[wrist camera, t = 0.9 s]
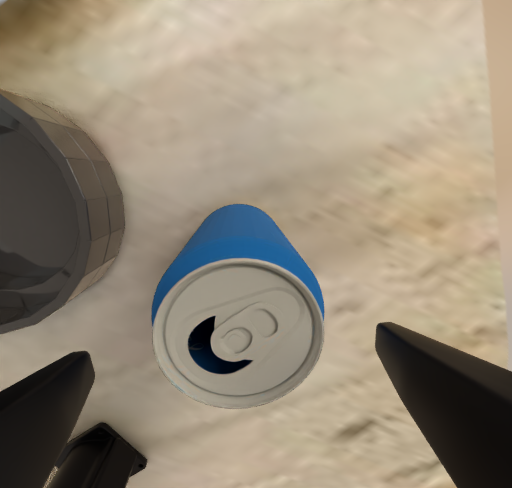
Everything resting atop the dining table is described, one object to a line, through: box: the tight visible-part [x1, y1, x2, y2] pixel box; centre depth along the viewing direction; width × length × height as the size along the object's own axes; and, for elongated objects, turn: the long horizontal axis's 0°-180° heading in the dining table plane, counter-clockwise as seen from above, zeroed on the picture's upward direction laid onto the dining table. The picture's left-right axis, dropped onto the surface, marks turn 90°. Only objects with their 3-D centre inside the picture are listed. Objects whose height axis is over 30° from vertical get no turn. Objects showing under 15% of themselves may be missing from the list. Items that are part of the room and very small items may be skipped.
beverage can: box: [152, 204, 324, 409], centre depth 14 cm, size 6×6×12 cm
